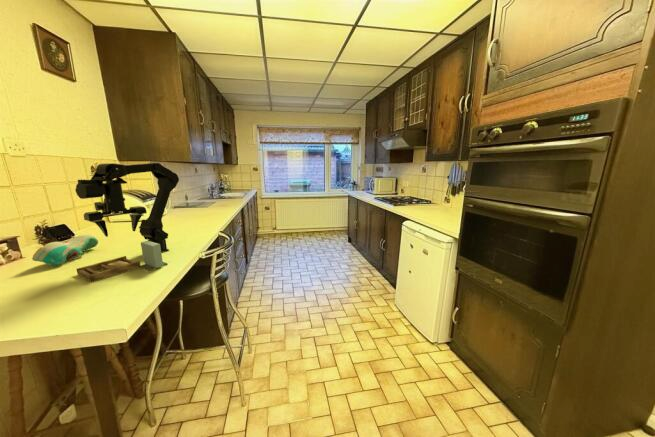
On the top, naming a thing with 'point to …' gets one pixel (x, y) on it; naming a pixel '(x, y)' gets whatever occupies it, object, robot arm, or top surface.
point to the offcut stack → (117, 264)
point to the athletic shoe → (64, 250)
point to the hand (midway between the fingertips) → (120, 233)
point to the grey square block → (152, 254)
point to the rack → (106, 269)
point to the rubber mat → (148, 267)
